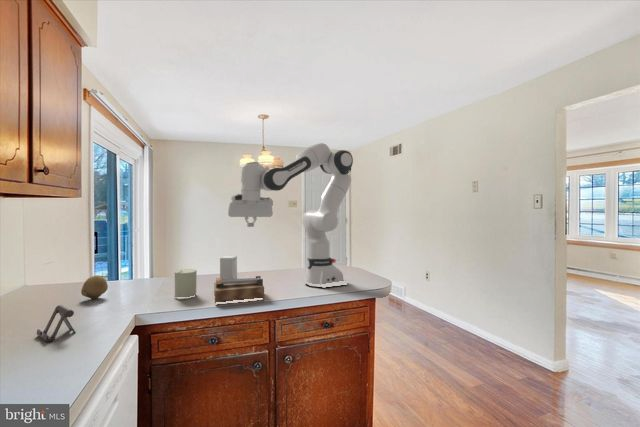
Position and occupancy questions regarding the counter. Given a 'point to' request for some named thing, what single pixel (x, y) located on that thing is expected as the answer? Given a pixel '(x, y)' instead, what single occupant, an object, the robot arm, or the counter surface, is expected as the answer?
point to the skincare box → (228, 267)
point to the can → (185, 282)
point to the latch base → (238, 291)
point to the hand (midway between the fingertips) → (250, 226)
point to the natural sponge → (94, 287)
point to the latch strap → (236, 280)
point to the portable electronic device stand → (64, 314)
